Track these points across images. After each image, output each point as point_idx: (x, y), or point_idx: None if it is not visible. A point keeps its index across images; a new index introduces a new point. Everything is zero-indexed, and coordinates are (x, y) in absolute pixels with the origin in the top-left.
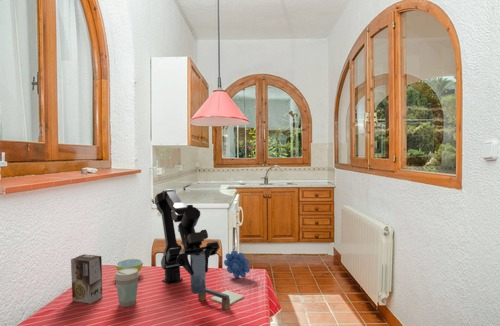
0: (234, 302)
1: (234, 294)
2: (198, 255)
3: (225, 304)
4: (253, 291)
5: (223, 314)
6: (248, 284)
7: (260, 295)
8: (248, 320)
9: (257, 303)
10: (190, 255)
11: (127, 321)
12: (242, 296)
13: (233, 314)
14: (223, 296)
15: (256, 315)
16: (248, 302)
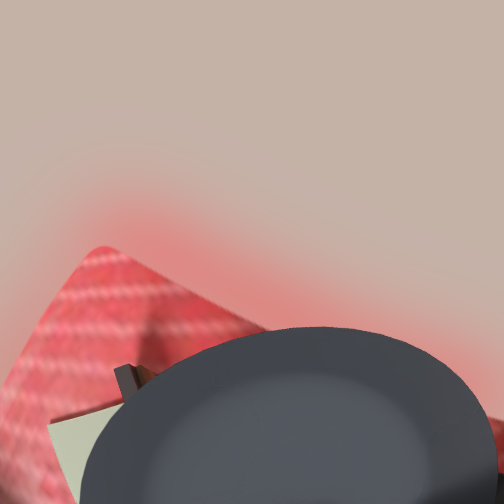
0: (97, 412)
1: (70, 463)
2: (341, 397)
3: (148, 372)
4: (10, 437)
5: (180, 347)
6: (5, 492)
7: (8, 393)
8: (131, 265)
9: (42, 350)
10: (489, 488)
11: (501, 420)
12: (53, 424)
13: (148, 327)
14: (137, 385)
15: (93, 280)
16: (58, 378)
